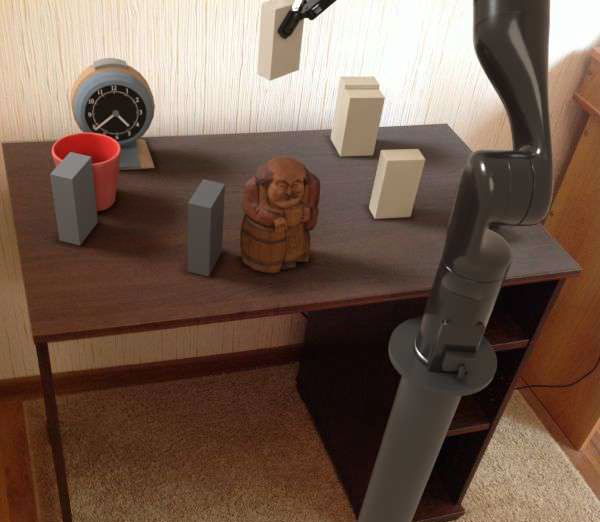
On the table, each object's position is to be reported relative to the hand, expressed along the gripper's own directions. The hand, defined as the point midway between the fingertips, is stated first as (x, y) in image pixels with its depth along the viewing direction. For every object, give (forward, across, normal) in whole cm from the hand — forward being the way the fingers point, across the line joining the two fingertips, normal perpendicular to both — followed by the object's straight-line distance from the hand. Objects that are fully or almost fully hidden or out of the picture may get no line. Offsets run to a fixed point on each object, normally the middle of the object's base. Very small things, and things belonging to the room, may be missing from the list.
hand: (273, 31), depth 119 cm
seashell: (+6, +35, +34) cm, 49 cm away
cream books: (+6, +10, +33) cm, 35 cm away
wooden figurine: (+30, +17, +9) cm, 36 cm away
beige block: (+4, 0, +6) cm, 7 cm away
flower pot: (+38, -15, 0) cm, 41 cm away
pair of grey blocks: (+40, +1, -1) cm, 40 cm away
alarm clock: (+30, -23, +9) cm, 39 cm away
